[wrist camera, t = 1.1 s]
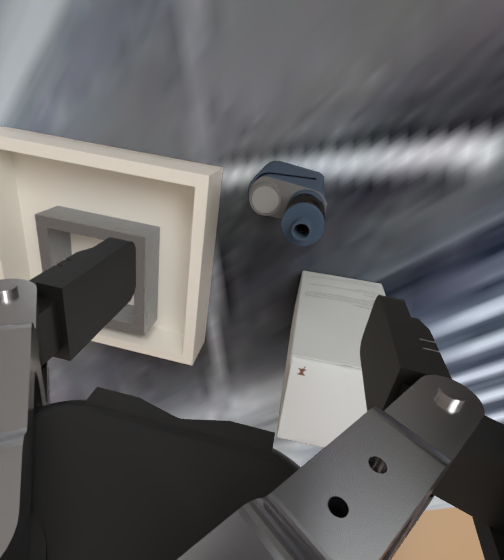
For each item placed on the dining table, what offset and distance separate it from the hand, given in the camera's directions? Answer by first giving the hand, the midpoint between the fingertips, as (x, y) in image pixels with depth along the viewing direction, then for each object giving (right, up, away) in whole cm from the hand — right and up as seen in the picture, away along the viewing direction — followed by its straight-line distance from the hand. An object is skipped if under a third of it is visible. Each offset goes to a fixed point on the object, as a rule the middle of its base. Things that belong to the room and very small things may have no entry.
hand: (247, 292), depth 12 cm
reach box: (-13, +4, +23) cm, 27 cm away
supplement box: (+8, -2, +22) cm, 24 cm away
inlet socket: (-14, +2, +24) cm, 28 cm away
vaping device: (+4, +9, +18) cm, 20 cm away
